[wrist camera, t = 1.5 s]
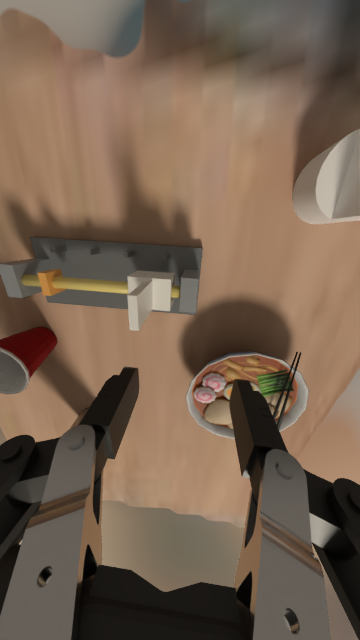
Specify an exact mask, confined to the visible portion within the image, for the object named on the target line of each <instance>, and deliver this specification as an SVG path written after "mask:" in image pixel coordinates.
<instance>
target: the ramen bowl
mask: <svg viewBox="0 0 360 640" xmlns="http://www.w3.org/2000/svg"><path fill="white" fill-rule="evenodd" d="M297 353H298V352H296V355H295V357H294V360H293V363H292V365H291V366H290V365H289V364H287V363H286V362H285V361H283V360H281V359H279V358H276V357H272V356H268V355H264V354H260V353H257V352H251V351H250V352H238V353H229V354H227V355H224V356H222V357H219V358H217V359H215V360H212V361H210V362H209V363H208V364H207V365H206V366H205V367H204V368H203V369H202V370H201V371H200V372H199V373H198V374H197V375H196V376H195V377H194V378H193V379H192V381H191V384H190V386H189V389H188V392H187V395H186V400H187V405H188V409H189V413H190V414H191V415H192V417H193V418H194V419H195V420H196V422H197V423H198V424H199V425H200V426H201V427H203V428H205V429H207V430H208V431H210V432H212V433H214V434H215V435H219V436H223V437H227V438H231V439H235V436H234V430H233V425H232V419H231V414H230V407H229V401H230V395H231V391H232V387H233V383H234V380H235V379H242V380H249V381H250V383H251V386H252V389H253V391H259V392H260V393H261V394H262V395H263V396H264V398H265V399H266V401H267V403H268V405H269V408H270V410H271V413H272V415H273V418H274V420H275V422H276V425H277V427H278V430H279V432H281V431H282V430H284V429H286V428H287V427H289V426H291V425H292V424H294V423H295V422H296V421H297V419H298V418H299V417H300V416H301V414H302V413H303V412H304V411H305V409H306V407H307V400H308V394H309V390H308V387H307V385H306V383H305V381H304V378H303V376H302V374H301V373H300V372H299V371H297V366H298V363H299V359H300V356H301V352H300V354H299V357H298V360H297V363H296V366H295V369H294V368H293V365H294V362H295V359H296V356H297Z"/></svg>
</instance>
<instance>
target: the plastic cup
mask: <svg viewBox="0 0 360 640" xmlns="http://www.w3.org/2000/svg"><path fill="white" fill-rule="evenodd" d="M56 344H57V338H56V336H55V334H54V333H53V332H52V331H51V330H49V329H47V328H44V327H37V328H33V329H30V330H28V331H25V332H21V333H18V334H15V335H12V336H9V337H7V338H4V339H1V340H0V393H3V394H14V393H19V392H21V391H22V390H24V389H26V387H27V385H28V383H29V381H30V377H31V376H32V375H33V373H34V372H35V371H36V369H37V368H38V367H39V366H40V365H41V363H42V362H43V361H44V360H45V359H46V358H47V356H48V355H49V353H50V352H51V351H52V350H53V349H54V348H55V346H56Z"/></svg>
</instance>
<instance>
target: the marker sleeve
mask: <svg viewBox="0 0 360 640" xmlns="http://www.w3.org/2000/svg"><path fill="white" fill-rule="evenodd" d="M127 279H128V293H129V294H128V295H127V297H128V311H129V326H130V330H135V331H139V330H140V328H141V326H142V325H143V323H144V322H145V320H146V318H147V317H148V315H149V314H150V312H151V310H160V311H170V310H171V307H172V305H173V302H174V298H172V297H171V291H172V285H173V286H174V285H175V273H165V272H151V271H136V272H134V273H132V274H131V275H129V276H127Z"/></svg>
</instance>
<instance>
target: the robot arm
mask: <svg viewBox="0 0 360 640" xmlns="http://www.w3.org/2000/svg"><path fill="white" fill-rule="evenodd" d="M138 394H139V375H138V368H132V367H124V368H123V370H122V371H121V373H120V375H113V376H112V377H111V378H109V379H108V380H107V381H106V382H105V384H104V386H103V387H102V389H101V390H100V392H99V393H98V395H97V397H96V398H95V400H94V401H93V403H92V405H91V406H90V408H88V409H85V410H84V411H83V412H82V413H81V414H80V416H78V417H77V419H76V420H75V422H74V423H73V425H72V427H71V428H70V429H69V430H68V431H67V432H65V433H64V434H63V435H62V436H61V437H60V438H56V439H51V440H46V441H41V442H36V443H35V440H34V438H33V437H32V436H29V435H20V436H16V437H14V438H12V439H9V440H8V441H6V442H4V443H3V444H2V445H1V446H0V640H331V637H330V629H329V619H328V610H327V600H326V591H325V582H324V576H323V571H322V568H321V564H320V562H319V560H318V559H317V558H316V557H315V556H314V553H313V549H312V544H313V546H314V548H315V550H316V552H317V554H318V556H319V558H320V561H321V563H322V565H323V567H324V569H325V571H326V573H327V575H328V577H329V579H330V581H331V583H332V585H333V588H334V590H335V592H336V593H337V596H338V598H339V600H340V602H341V604H342V606H343V608H344V610H345V612H346V614H347V616H348V618H349V621H350V622H351V625H352V627H353V629H354V631H355V633H356V635H357V637H358V639H359V640H360V485H359V484H357V483H355V482H353V481H351V480H348V479H345V478H340V479H337V480H335V482H334V483H331V482H329V481H327V480H325V479H322V478H320V477H318V476H316V475H314V474H311V473H310V472H308V471H306V470H304V469H303V468H302V466H301V465H300V464H299V462H298V461H297V460H296V459H295V458H294V457H293V456H292V455H290V454H289V453H288V451H287V449H286V447H285V444H284V442H283V439H282V437H281V434H280V432H279V430H278V427H277V425H276V422H275V420H274V418H273V415H272V413H271V410H270V408H269V405H268V403H267V401H266V399H265V398H264V396H263V395H262V394H261V393H260V392H259V391H253V389H252V386H251V383H250V381H249V380H242V379H235V380H234V383H233V387H232V391H231V395H230V401H229V407H230V414H231V419H232V425H233V430H234V436H235V441H236V447H237V452H238V458H239V463H240V469H241V475H242V477H244V478H250V482H251V487H252V489H251V491H250V496H249V503H248V510H247V516H246V523H245V530H244V536H243V543H242V549H241V554H240V558H239V561H238V565H237V570H236V575H235V581H234V587H233V588H232V587H226V586H220V585H214V584H208V583H202V582H200V583H197V584H193V585H190V586H187V587H183V588H179V589H176V590H173V591H169V592H163V591H161V590H159V589H158V588H156V587H155V586H153V585H152V584H150V583H149V582H148V581H146V580H145V579H143V578H141V577H140V576H139V575H137V574H136V573H134V572H133V571H132V570H127V569H121V568H116V567H109V566H104V565H102V535H101V517H102V493H103V468H104V466H105V463H106V461H107V458H110V459H115V457H116V454H117V451H118V449H119V446H120V443H121V441H122V438H123V435H124V433H125V430H126V427H127V425H128V422H129V419H130V417H131V414H132V411H133V409H134V406H135V403H136V401H137V398H138ZM22 539H23V540H22ZM21 540H22V543H21V545H19V543H20V542H21ZM289 629H291V631H290V630H289Z"/></svg>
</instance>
